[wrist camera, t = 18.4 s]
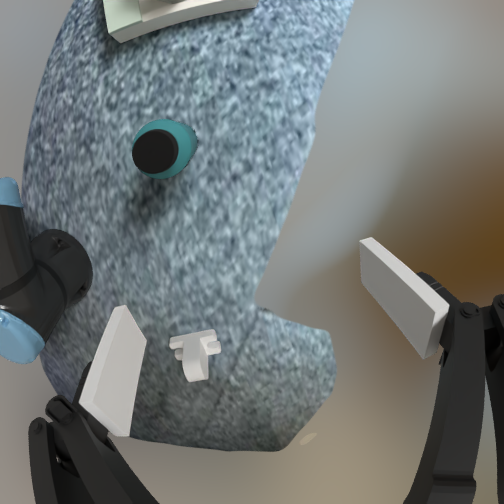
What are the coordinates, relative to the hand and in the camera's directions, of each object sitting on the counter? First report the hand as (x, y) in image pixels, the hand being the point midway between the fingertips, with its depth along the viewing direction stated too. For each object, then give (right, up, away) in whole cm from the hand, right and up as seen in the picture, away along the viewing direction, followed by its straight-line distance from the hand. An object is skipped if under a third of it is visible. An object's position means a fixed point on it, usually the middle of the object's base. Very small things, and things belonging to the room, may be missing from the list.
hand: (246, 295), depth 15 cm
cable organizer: (-12, -17, +42) cm, 46 cm away
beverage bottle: (-11, +19, +25) cm, 33 cm away
